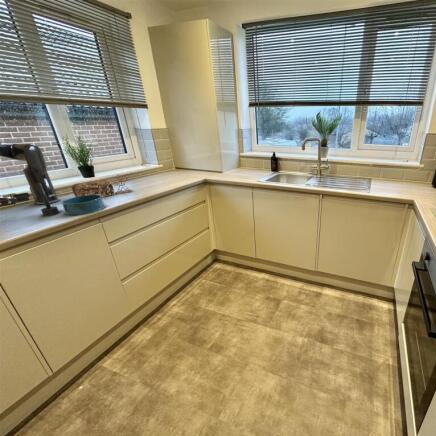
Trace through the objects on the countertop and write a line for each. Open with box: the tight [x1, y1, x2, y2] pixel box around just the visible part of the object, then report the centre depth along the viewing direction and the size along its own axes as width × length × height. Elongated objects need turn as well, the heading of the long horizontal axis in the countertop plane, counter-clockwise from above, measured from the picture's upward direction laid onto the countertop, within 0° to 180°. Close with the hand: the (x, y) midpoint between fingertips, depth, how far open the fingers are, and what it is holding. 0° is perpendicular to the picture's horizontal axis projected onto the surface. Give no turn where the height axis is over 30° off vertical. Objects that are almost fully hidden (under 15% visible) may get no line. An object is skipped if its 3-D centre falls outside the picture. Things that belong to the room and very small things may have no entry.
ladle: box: [37, 183, 60, 217], centre depth 119 cm, size 6×6×16 cm
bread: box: [71, 179, 115, 198], centre depth 147 cm, size 19×11×10 cm, turn 139°
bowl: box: [61, 195, 106, 216], centre depth 126 cm, size 16×16×6 cm
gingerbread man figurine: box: [113, 174, 133, 195], centre depth 156 cm, size 9×4×12 cm, turn 134°
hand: (28, 196), depth 115 cm, fingers open, 8 cm apart
